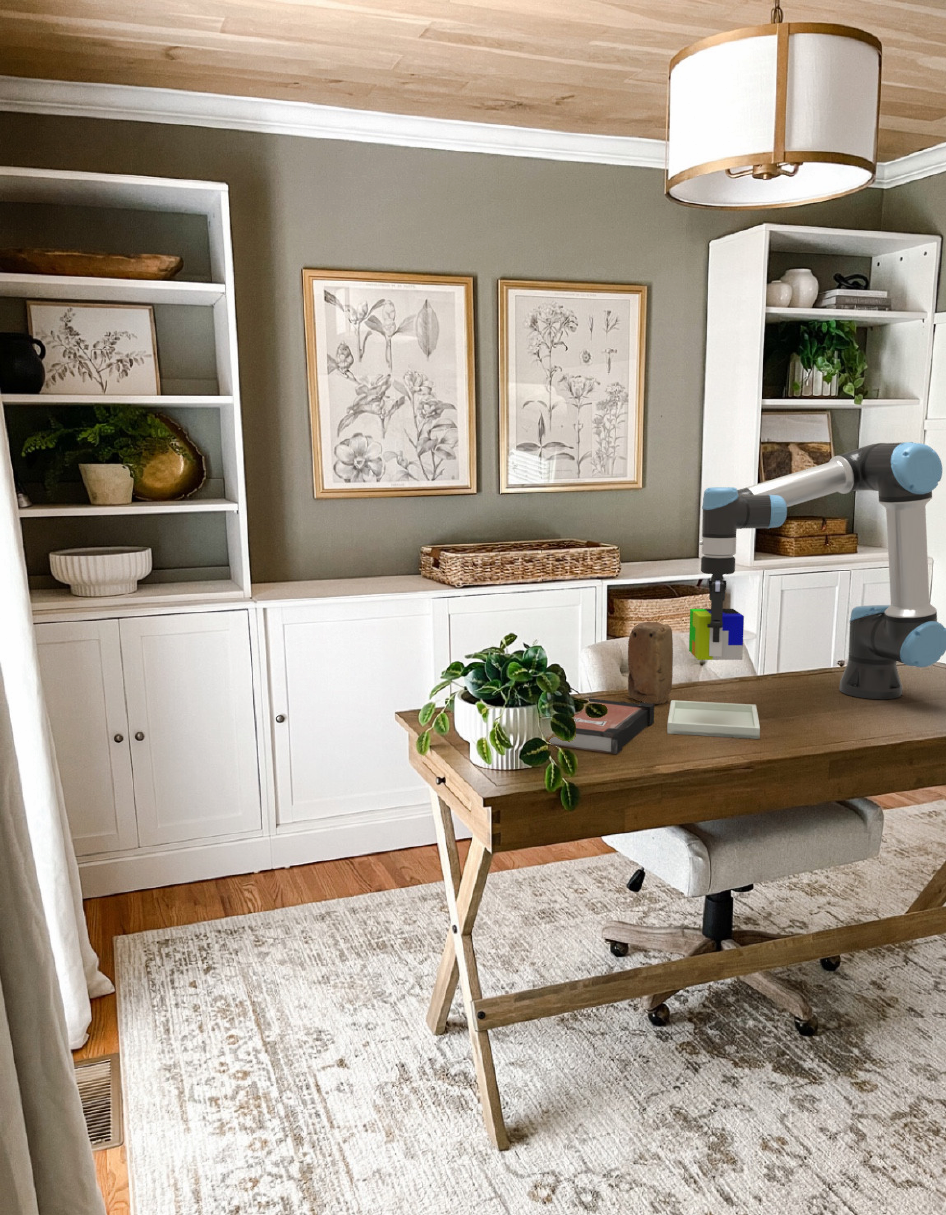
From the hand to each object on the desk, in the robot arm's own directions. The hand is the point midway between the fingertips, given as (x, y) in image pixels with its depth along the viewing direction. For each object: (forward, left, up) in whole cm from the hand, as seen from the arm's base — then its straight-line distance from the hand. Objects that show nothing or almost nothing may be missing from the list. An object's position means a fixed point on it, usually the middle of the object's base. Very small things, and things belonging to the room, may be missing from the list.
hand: (715, 650), depth 219 cm
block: (+16, -18, -18) cm, 30 cm away
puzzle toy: (0, 0, -1) cm, 1 cm away
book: (+25, +12, -18) cm, 33 cm away
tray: (0, 0, -17) cm, 17 cm away
